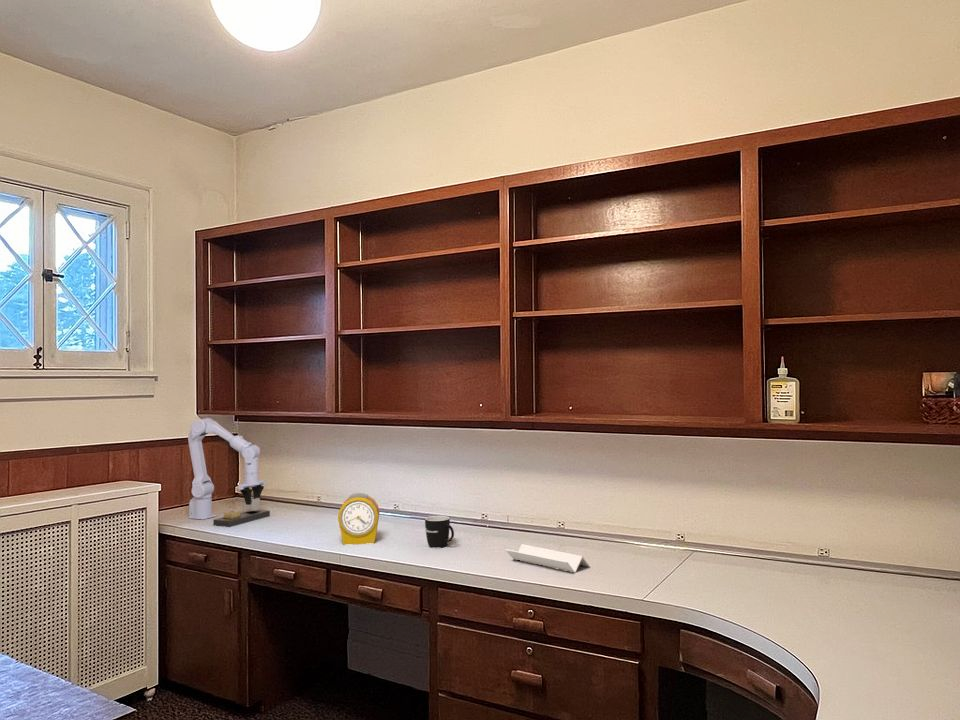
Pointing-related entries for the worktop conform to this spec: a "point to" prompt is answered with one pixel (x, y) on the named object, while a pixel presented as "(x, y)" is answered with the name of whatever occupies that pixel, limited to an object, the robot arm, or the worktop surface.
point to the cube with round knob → (253, 504)
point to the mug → (438, 531)
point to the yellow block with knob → (231, 515)
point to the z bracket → (548, 558)
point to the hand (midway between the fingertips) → (252, 503)
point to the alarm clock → (358, 519)
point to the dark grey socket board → (242, 518)
